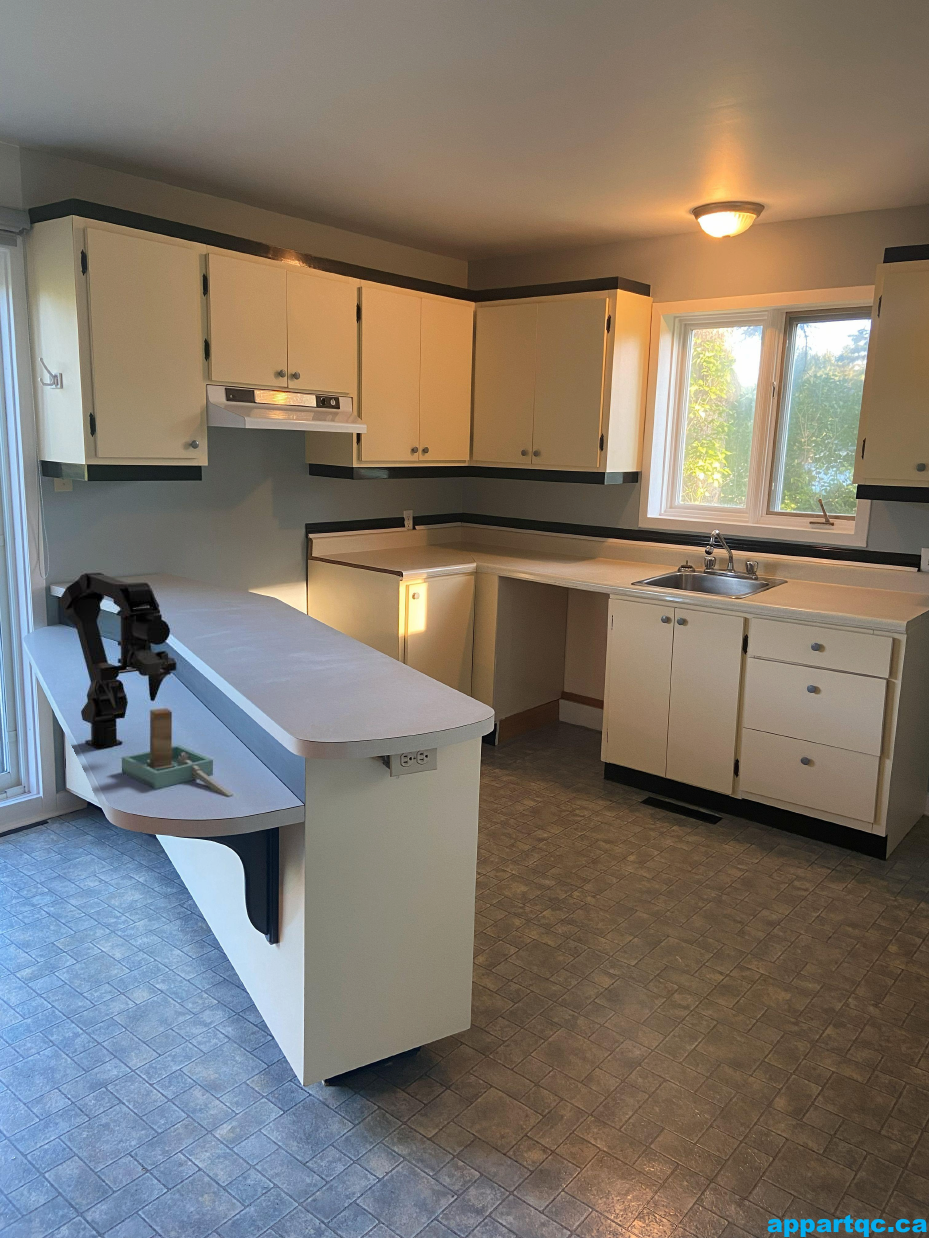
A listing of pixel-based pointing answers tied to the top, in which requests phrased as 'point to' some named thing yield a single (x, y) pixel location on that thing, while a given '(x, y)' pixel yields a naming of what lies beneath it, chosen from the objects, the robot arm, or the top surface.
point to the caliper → (202, 776)
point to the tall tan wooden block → (160, 739)
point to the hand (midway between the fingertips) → (134, 703)
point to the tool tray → (167, 777)
